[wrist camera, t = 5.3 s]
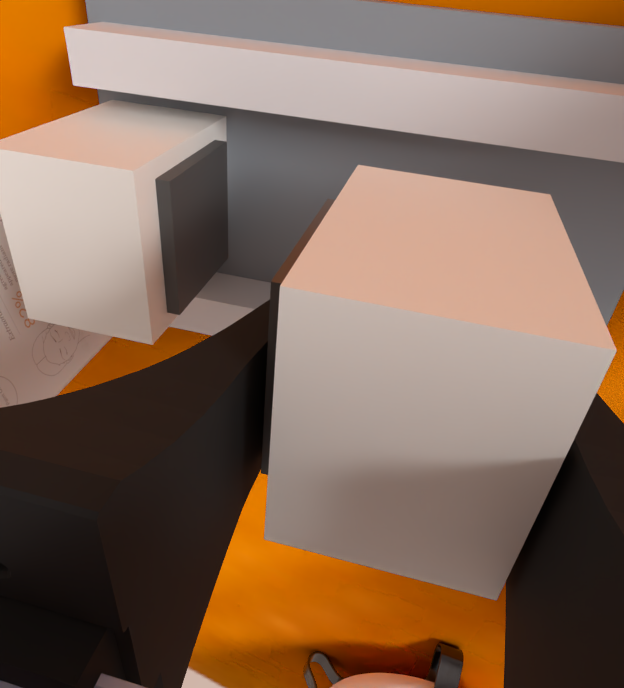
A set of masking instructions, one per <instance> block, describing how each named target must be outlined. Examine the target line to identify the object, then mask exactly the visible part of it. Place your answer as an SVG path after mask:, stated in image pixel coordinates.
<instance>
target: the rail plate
mask: <svg viewBox="0 0 624 688" xmlns="http://www.w3.org/2000/svg"><path fill="white" fill-rule="evenodd" d="M85 2H86V10H87V17H88V24H82V25H75V26H67V27H64V32H65V38H66V44H67V50H68V57H69V63H70V69H71V75H72V81H73V85H74V86H81V87H88V88H95V89H98V96H99V103H100V104H99V105H96V106H94V107H91V108H88V109H85V110H82V111H80V112H77V113H74V114H71V115H68V116H66V117H63V118H60V119H57V120H54V121H52V122H49V123H46V124H43V125H40V126H38V127H35V128H32V129H29V130H26V131H24V132H21V133H18V134H15V135H12V136H10V137H7V138H4V139H1V140H0V214H1V218H2V222H3V225H4V229H5V233H6V237H7V241H8V244H9V248H10V252H11V256H12V259H13V263H14V267H15V271H16V274H17V278H18V282H19V286H20V289H21V293H22V297H23V301H24V305H25V308H26V312H27V316H28V318H29V319H34V320H38V321H43V322H48V323H52V324H57V325H62V326H67V327H71V328H76V329H81V330H85V331H90V332H95V333H99V334H104V335H109V336H113V337H118V338H123V339H127V340H132V341H137V342H141V343H146V344H151V345H153V344H154V343H155V342H156V341H157V339H158V338H159V337H160V336H161V335H162V334H163V332H164V331H165V330H166V329H167V328H168V327H174V328H178V329H183V330H188V331H193V332H198V333H203V334H207V335H212V336H213V335H214V334H216V333H218V332H220V331H222V330H223V329H225V328H227V327H228V326H230V325H231V324H233V323H234V322H236V321H238V320H239V319H241V318H242V317H244V316H245V315H247V314H248V313H250V312H251V311H253V310H254V309H256V308H257V307H259V306H260V305H262V304H263V303H265V302H266V301H268V300H270V290H271V281H272V279H273V278H274V276H275V275H276V273H277V272H278V270H279V269H280V268H281V266H282V265H283V263H284V262H285V260H286V259H287V257H288V256H289V254H290V253H291V252H292V250H293V249H294V247H295V246H296V244H297V243H298V241H299V240H300V238H301V237H302V236H303V234H304V233H305V231H306V230H307V228H308V227H309V225H310V224H311V222H312V221H313V220H314V218H315V217H316V215H317V214H318V212H319V211H320V209H321V208H322V206H323V205H324V203H325V202H326V201H327V199H334V200H336V198H337V197H338V195H339V194H340V192H341V190H342V189H343V187H344V186H345V184H346V183H347V181H348V180H349V178H350V176H351V175H352V173H353V172H354V170H355V169H356V167H357V166H358V165H363V166H370V167H376V168H382V169H389V170H395V171H402V172H408V173H415V174H421V175H428V176H434V177H441V178H447V179H453V180H460V181H466V182H473V183H479V184H486V185H492V186H499V187H505V188H512V189H518V190H525V191H531V192H537V193H544V194H550V195H551V197H552V200H553V202H554V205H555V207H556V209H557V212H558V214H559V216H560V219H561V221H562V223H563V226H564V228H565V230H566V233H567V235H568V237H569V240H570V242H571V244H572V247H573V249H574V251H575V254H576V256H577V258H578V261H579V263H580V265H581V268H582V270H583V272H584V275H585V277H586V280H587V282H588V284H589V287H590V289H591V291H592V294H593V296H594V298H595V301H596V303H597V305H598V308H599V310H600V312H601V315H602V317H603V319H604V322H605V324H606V326H607V324H608V322H609V320H610V318H611V316H612V314H613V312H614V309H615V307H616V305H617V303H618V301H619V299H620V297H621V294H622V292H623V290H624V26H615V25H606V24H596V23H587V22H577V21H568V20H558V19H549V18H539V17H530V16H520V15H511V14H501V13H492V12H482V11H473V10H463V9H454V8H444V7H435V6H425V5H416V4H406V3H397V2H387V1H378V0H85Z"/></svg>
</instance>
